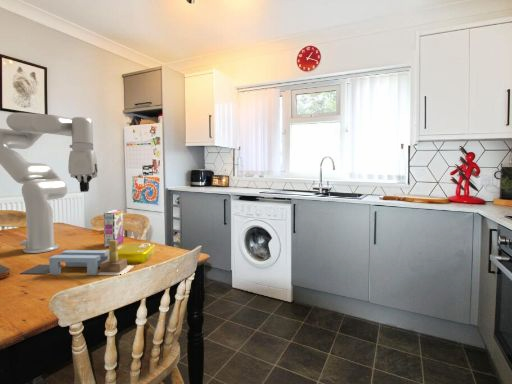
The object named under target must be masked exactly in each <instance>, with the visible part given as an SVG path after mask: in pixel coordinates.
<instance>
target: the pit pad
mask: <svg viewBox="0 0 512 384" xmlns="http://www.w3.org/2000/svg"><path fill="white" fill-rule="evenodd" d="M60 265H61V267H63V266H64V264H60ZM47 274H50V266H49V264H42V263H41V264H38V265H35V266H33V267H29V269H26V270H24V271H21V272H20V273H19V275H47Z"/></svg>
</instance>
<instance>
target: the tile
mask: <svg viewBox="0 0 512 384" xmlns="http://www.w3.org/2000/svg"><path fill="white" fill-rule="evenodd" d="M134 267H135V265H130V264H129V265H128V264H127V267H126V268H125V269H124V270H122V271H121V272H100V271H99V272H98V274H97V275H99V276H121V275H120V274H124V273H125V274H126V273H128V272H129V271H130V270H132V269H133V268H134ZM125 274H124V275H125Z"/></svg>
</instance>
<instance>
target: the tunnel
mask: <svg viewBox="0 0 512 384" xmlns="http://www.w3.org/2000/svg"><path fill="white" fill-rule="evenodd" d="M107 259H109V249H108V250H105V249H103V250H101V249H94V250H93V249H92V250H91V249H87V250H86V249H66V250H64V251H61V253H60V254H54V255H51V256H50V257H48V261H49V262H48V265H49V266H50V272H49V275H60V274H62V273H61V272H62V269H61V268H62V266H61V265H62V264H61V263H64V264H65V267H69V268H70V267H71V268H72V267H78V268H79V267H81V268H82V267H83V268H84V267H86V271H87V272H86V275H87V276H97V275H98V273H99V271H98V268H100V263H102V262H104V261H105V260H107Z"/></svg>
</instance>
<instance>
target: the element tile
mask: <svg viewBox="0 0 512 384" xmlns="http://www.w3.org/2000/svg"><path fill="white" fill-rule="evenodd" d="M155 247H156V246H155V244H154V243H120V244H118V259H127V264H143V263H147V262H148V261H149V260H150V259H151V258H152V257H153V256H154V255H155V253H156V249H155Z"/></svg>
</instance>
